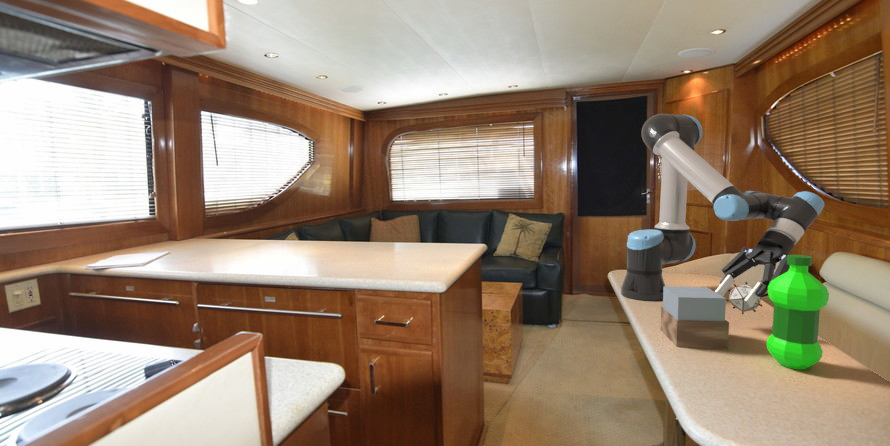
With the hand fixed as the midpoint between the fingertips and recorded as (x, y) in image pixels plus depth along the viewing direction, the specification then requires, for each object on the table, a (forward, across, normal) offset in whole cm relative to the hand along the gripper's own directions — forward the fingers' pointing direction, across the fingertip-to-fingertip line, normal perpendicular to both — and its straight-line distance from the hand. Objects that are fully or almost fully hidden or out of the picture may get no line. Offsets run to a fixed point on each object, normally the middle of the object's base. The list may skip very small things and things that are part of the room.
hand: (732, 299), depth 119 cm
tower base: (+17, -1, +4) cm, 17 cm away
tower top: (+12, -1, +9) cm, 15 cm away
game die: (0, -1, -5) cm, 5 cm away
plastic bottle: (+11, -21, -2) cm, 24 cm away
